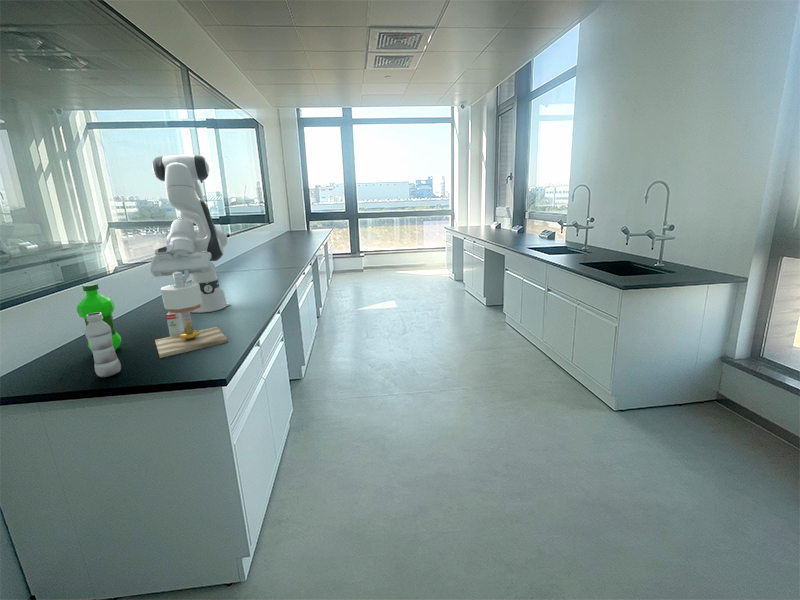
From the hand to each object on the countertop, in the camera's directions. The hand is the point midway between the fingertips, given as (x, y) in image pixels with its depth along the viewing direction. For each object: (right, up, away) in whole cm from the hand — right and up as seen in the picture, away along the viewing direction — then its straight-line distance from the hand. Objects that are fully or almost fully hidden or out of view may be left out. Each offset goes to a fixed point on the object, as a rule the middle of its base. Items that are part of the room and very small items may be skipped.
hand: (181, 282), depth 145 cm
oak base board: (+2, -23, +2) cm, 23 cm away
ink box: (-8, -21, +12) cm, 26 cm away
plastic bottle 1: (-26, -26, -2) cm, 36 cm away
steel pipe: (+2, -21, +2) cm, 22 cm away
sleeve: (+2, -8, -2) cm, 9 cm away
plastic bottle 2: (-10, -30, -22) cm, 39 cm away
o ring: (+2, -10, -1) cm, 10 cm away
